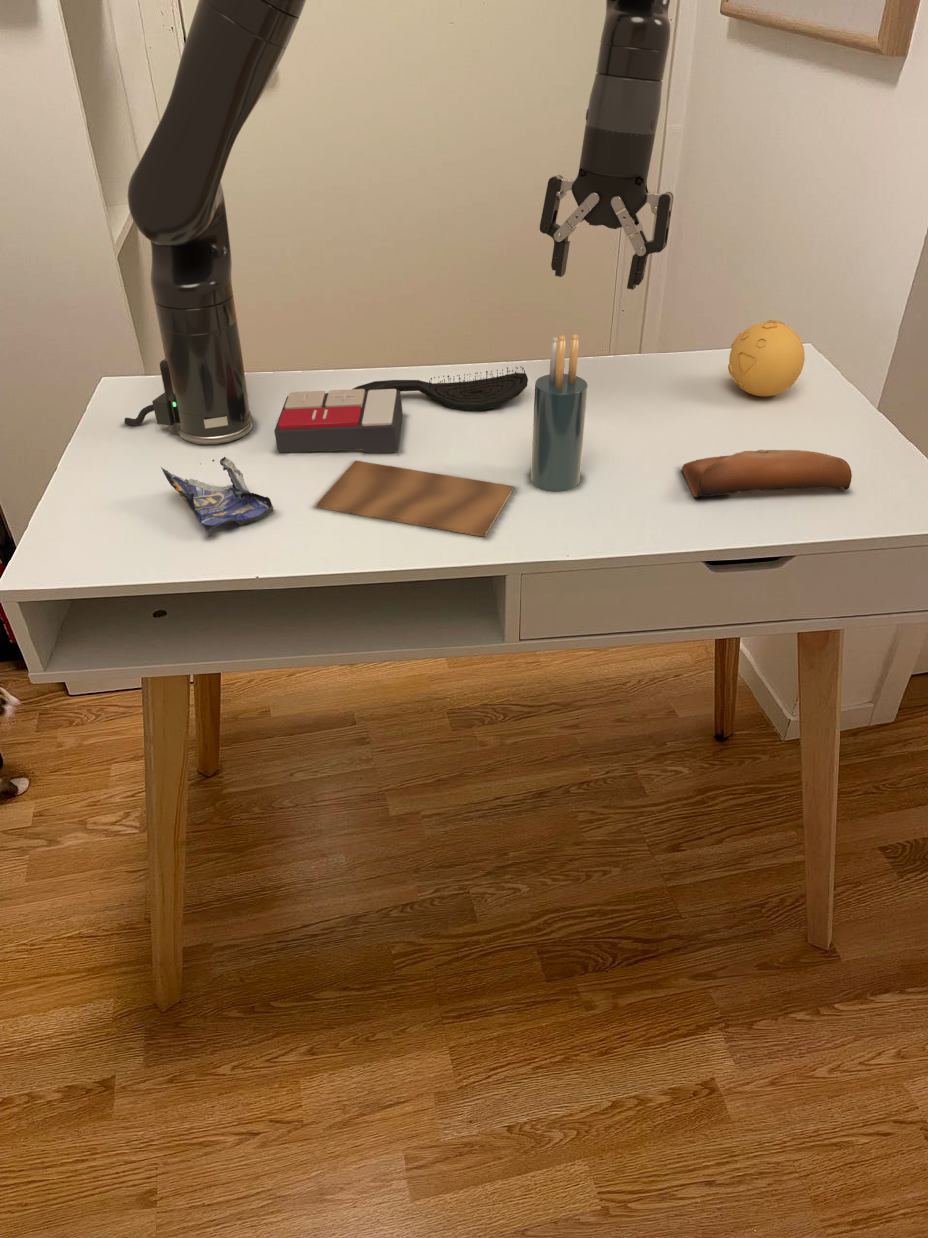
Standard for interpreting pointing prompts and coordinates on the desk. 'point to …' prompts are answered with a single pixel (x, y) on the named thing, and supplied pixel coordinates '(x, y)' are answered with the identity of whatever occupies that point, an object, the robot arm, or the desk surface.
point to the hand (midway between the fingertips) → (595, 281)
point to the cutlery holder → (559, 421)
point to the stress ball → (766, 358)
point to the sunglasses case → (766, 472)
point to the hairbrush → (462, 390)
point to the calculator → (340, 421)
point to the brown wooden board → (417, 498)
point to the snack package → (221, 499)
